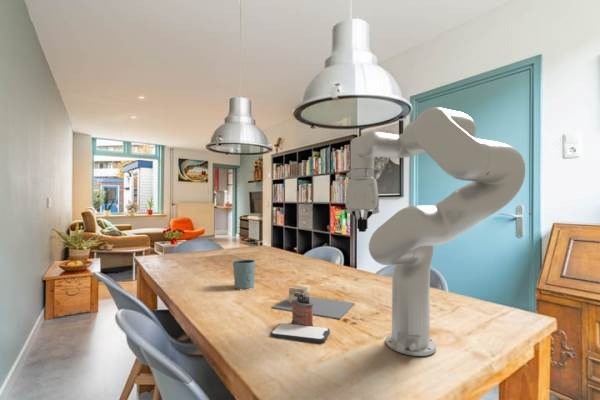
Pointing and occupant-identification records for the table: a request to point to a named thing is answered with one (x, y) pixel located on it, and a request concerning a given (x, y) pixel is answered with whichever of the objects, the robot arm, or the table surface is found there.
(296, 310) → the lighter
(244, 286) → the teal cup
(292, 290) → the maple cube
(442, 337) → the table surface
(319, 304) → the rubber mat
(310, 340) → the phone case
